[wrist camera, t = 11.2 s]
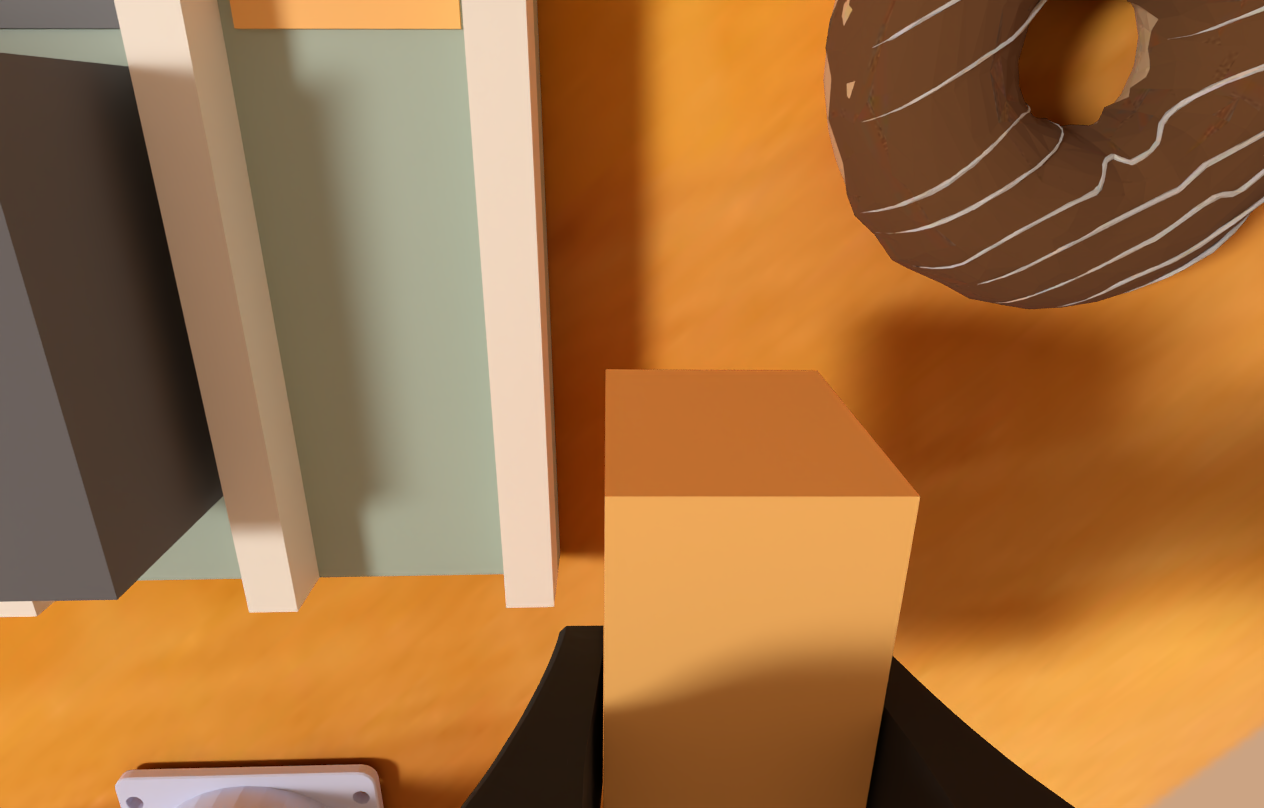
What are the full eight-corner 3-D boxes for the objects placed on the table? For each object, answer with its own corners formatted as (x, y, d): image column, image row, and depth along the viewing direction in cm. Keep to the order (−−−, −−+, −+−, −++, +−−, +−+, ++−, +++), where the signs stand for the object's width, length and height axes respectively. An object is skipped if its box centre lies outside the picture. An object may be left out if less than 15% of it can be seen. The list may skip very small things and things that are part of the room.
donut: (822, -228, 15) (892, -341, 11) (1331, -222, 15) (1562, -331, 12) (784, 293, 19) (827, 335, 15) (1193, 289, 19) (1333, 331, 16)
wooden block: (768, 804, 16) (824, 1042, 12) (603, 806, 16) (602, 1049, 12) (817, 370, 13) (920, 496, 9) (605, 368, 13) (605, 496, 8)
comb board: (560, 553, 21) (553, 606, 19) (57, 561, 21) (-13, 617, 19) (534, -69, 16) (520, -101, 13) (-146, -71, 15) (-281, -105, 13)
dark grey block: (225, 494, 19) (117, 599, 15) (82, 496, 19) (-68, 603, 15) (131, 66, 16) (-45, 48, 11) (-46, 66, 16) (-290, 47, 11)
